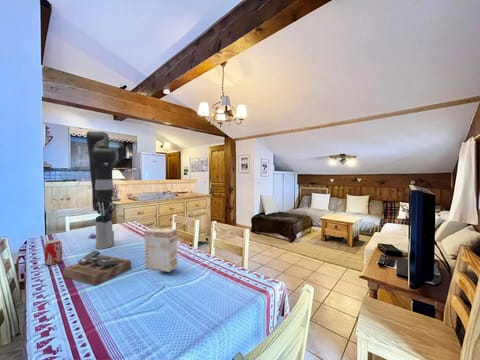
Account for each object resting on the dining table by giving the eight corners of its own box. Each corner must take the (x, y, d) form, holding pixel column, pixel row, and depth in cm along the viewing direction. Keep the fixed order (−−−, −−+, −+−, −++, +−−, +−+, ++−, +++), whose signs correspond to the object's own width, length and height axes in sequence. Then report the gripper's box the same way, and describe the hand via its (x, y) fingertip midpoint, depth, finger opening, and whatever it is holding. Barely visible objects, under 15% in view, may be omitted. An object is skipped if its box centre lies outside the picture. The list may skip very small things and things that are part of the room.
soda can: (51, 266, 109) (51, 243, 109) (41, 265, 110) (40, 242, 110) (65, 261, 116) (65, 239, 115) (55, 260, 117) (54, 238, 117)
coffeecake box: (178, 266, 108) (177, 228, 108) (169, 272, 101) (168, 232, 101) (154, 262, 113) (154, 226, 113) (144, 268, 106) (144, 229, 106)
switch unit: (102, 262, 114) (102, 253, 114) (131, 268, 106) (131, 258, 106) (63, 276, 98) (63, 266, 97) (94, 285, 89) (94, 274, 89)
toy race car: (86, 239, 157) (86, 230, 157) (109, 235, 168) (109, 227, 167) (88, 242, 150) (88, 233, 150) (112, 238, 161) (112, 229, 161)
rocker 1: (94, 252, 109) (93, 250, 108) (100, 254, 107) (99, 251, 106) (79, 264, 102) (77, 261, 101) (85, 265, 100) (83, 262, 100)
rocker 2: (103, 260, 106) (104, 256, 106) (109, 261, 104) (109, 257, 104) (86, 261, 99) (87, 257, 99) (93, 263, 97) (93, 259, 97)
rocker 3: (112, 262, 103) (113, 258, 103) (118, 263, 101) (119, 260, 102) (96, 263, 96) (97, 260, 96) (103, 265, 94) (104, 261, 95)
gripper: (120, 188, 106) (121, 222, 106) (102, 187, 111) (103, 219, 111) (106, 189, 99) (107, 225, 99) (87, 188, 104) (88, 223, 104)
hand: (105, 222), depth 105 cm, fingers closed
